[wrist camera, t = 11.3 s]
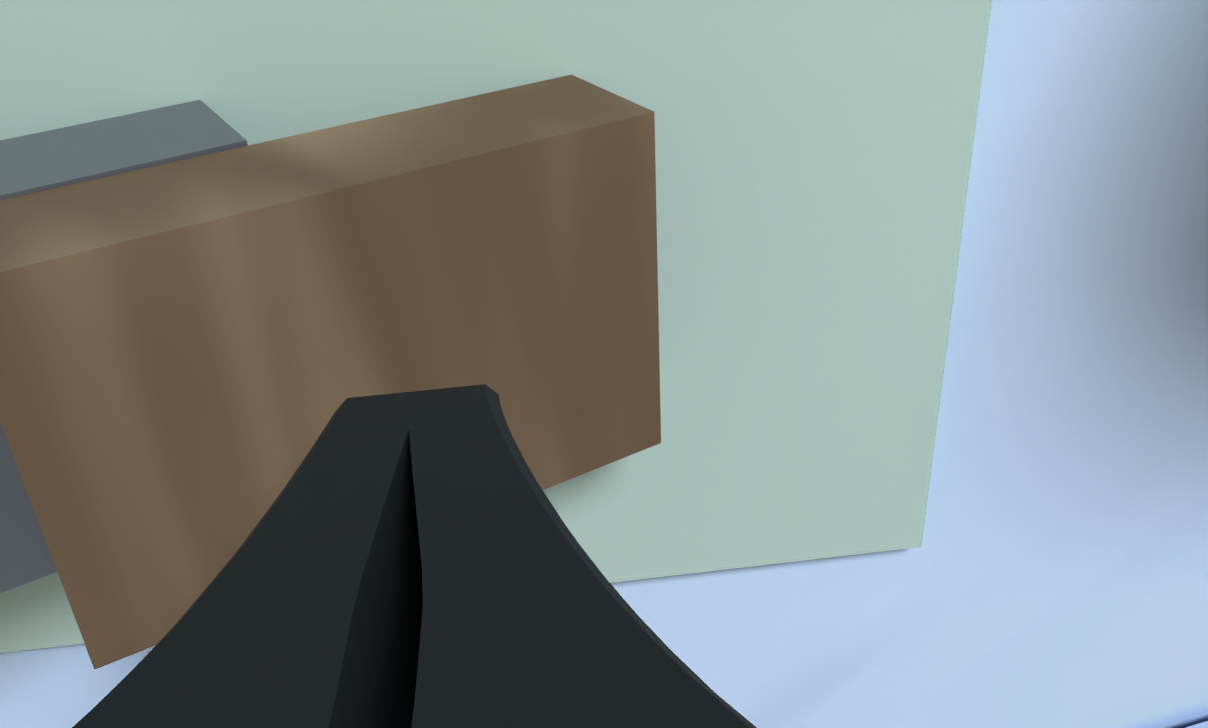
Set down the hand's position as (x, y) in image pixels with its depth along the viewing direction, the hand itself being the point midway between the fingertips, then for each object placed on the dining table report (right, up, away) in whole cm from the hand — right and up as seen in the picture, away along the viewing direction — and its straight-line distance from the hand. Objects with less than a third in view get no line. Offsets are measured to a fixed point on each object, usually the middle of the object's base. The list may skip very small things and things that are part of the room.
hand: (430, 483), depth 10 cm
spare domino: (+2, +2, +4) cm, 5 cm away
